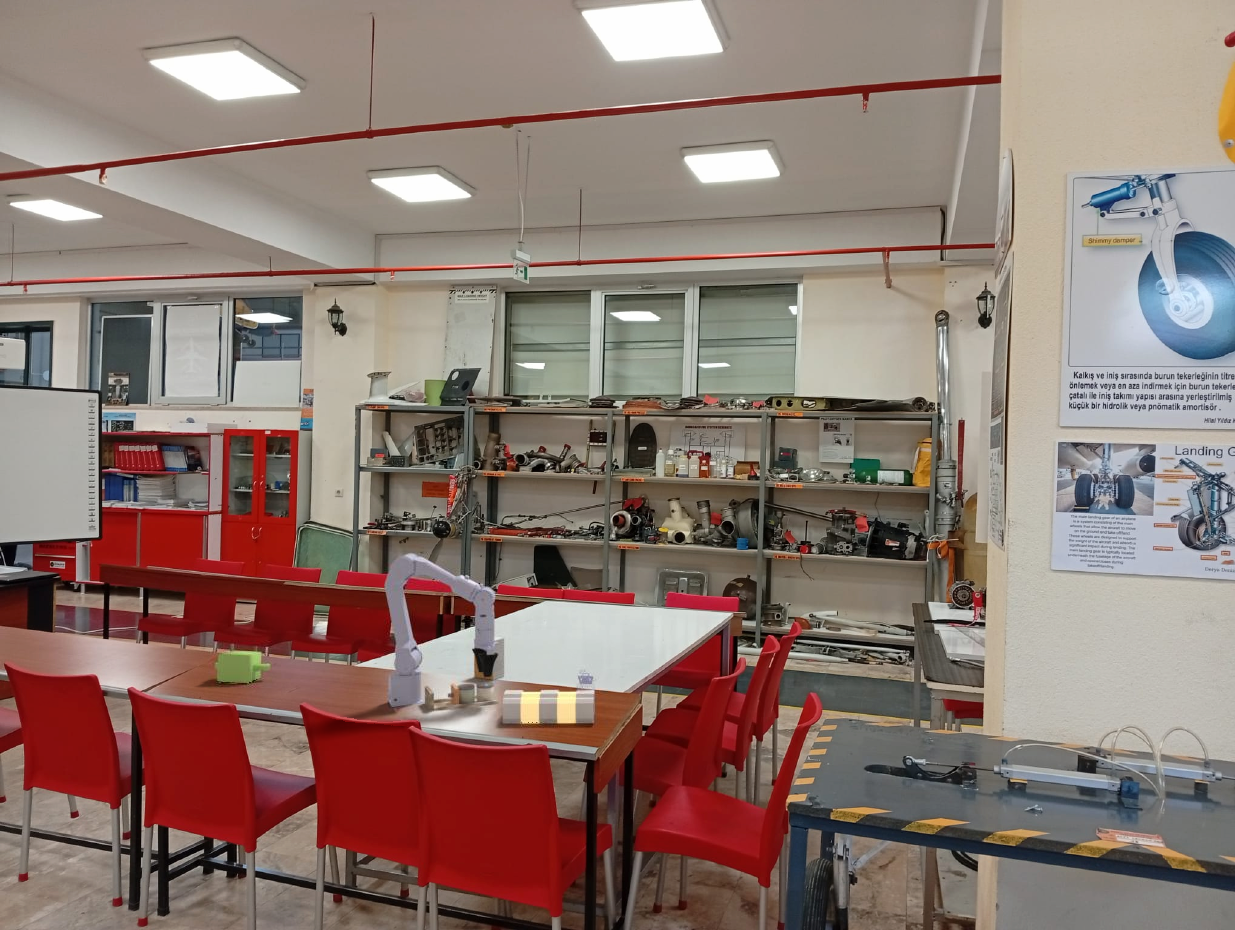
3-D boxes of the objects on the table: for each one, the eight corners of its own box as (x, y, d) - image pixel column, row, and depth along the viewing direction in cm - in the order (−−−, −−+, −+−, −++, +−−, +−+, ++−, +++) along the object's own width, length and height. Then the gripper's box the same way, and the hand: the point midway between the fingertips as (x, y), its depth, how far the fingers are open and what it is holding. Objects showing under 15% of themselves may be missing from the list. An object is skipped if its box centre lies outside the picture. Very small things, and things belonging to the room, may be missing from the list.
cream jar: (479, 703, 258) (478, 686, 258) (474, 699, 262) (474, 683, 262) (495, 702, 260) (495, 685, 260) (491, 697, 264) (490, 681, 264)
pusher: (450, 707, 254) (450, 689, 254) (446, 701, 260) (445, 684, 260) (459, 706, 255) (458, 688, 255) (454, 700, 261) (454, 683, 261)
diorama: (595, 714, 249) (594, 668, 249) (594, 725, 239) (593, 677, 239) (507, 714, 249) (506, 668, 249) (502, 725, 239) (502, 677, 239)
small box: (473, 677, 292) (473, 638, 292) (485, 673, 298) (485, 635, 298) (493, 680, 288) (493, 640, 288) (504, 676, 294) (504, 637, 294)
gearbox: (276, 679, 294) (277, 650, 294) (260, 685, 284) (262, 655, 284) (225, 676, 296) (226, 648, 296) (208, 682, 286) (210, 653, 286)
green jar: (460, 705, 255) (459, 688, 256) (455, 701, 260) (455, 684, 260) (476, 703, 258) (476, 686, 258) (472, 699, 262) (472, 683, 262)
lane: (430, 713, 250) (430, 693, 250) (424, 704, 259) (424, 685, 259) (499, 705, 257) (499, 686, 257) (490, 697, 267) (490, 679, 267)
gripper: (504, 631, 256) (504, 678, 256) (491, 623, 269) (492, 667, 269) (480, 633, 253) (480, 680, 253) (469, 625, 267) (469, 670, 266)
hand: (484, 674), depth 261 cm, fingers open, 6 cm apart
